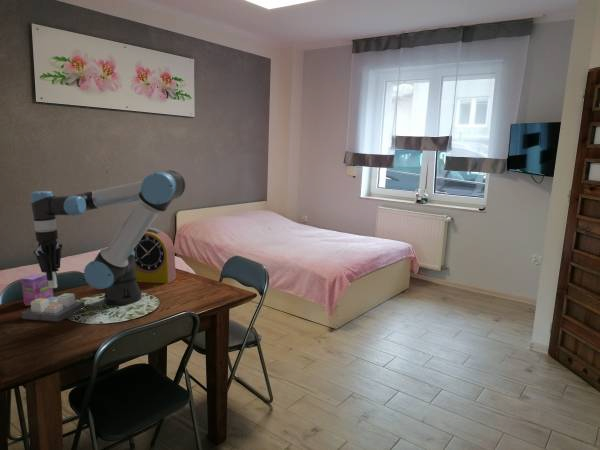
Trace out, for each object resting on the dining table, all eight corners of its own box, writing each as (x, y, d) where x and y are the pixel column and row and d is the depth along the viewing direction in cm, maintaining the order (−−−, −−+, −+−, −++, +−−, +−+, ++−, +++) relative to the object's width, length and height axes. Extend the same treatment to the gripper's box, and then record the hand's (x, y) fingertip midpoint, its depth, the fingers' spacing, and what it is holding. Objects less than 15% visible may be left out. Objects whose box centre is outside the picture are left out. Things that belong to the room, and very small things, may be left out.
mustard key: (49, 308, 171) (48, 298, 170) (41, 312, 166) (40, 302, 166) (40, 307, 171) (38, 297, 171) (31, 311, 167) (30, 301, 166)
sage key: (75, 303, 176) (74, 293, 176) (67, 307, 172) (66, 296, 171) (65, 302, 177) (64, 292, 176) (58, 306, 173) (57, 296, 172)
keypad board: (84, 307, 178) (84, 301, 178) (58, 321, 163) (58, 315, 163) (50, 305, 181) (50, 299, 180) (22, 318, 166) (21, 312, 166)
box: (35, 306, 179) (32, 279, 177) (23, 305, 181) (20, 278, 178) (54, 298, 189) (51, 272, 187) (43, 297, 191) (40, 271, 189)
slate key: (62, 306, 178) (61, 296, 177) (55, 310, 173) (53, 300, 173) (53, 305, 178) (52, 296, 178) (45, 309, 174) (44, 299, 173)
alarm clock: (128, 281, 214) (124, 229, 209) (138, 275, 222) (134, 225, 218) (168, 283, 210) (165, 230, 206) (176, 277, 219) (173, 227, 214)
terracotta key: (63, 313, 170) (62, 303, 169) (55, 318, 166) (54, 307, 165) (53, 313, 171) (52, 302, 170) (45, 317, 166) (44, 306, 166)
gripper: (49, 227, 177) (56, 282, 181) (24, 233, 165) (32, 292, 169) (66, 227, 176) (72, 282, 180) (42, 233, 163) (49, 293, 167)
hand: (53, 287), depth 174 cm, fingers closed
